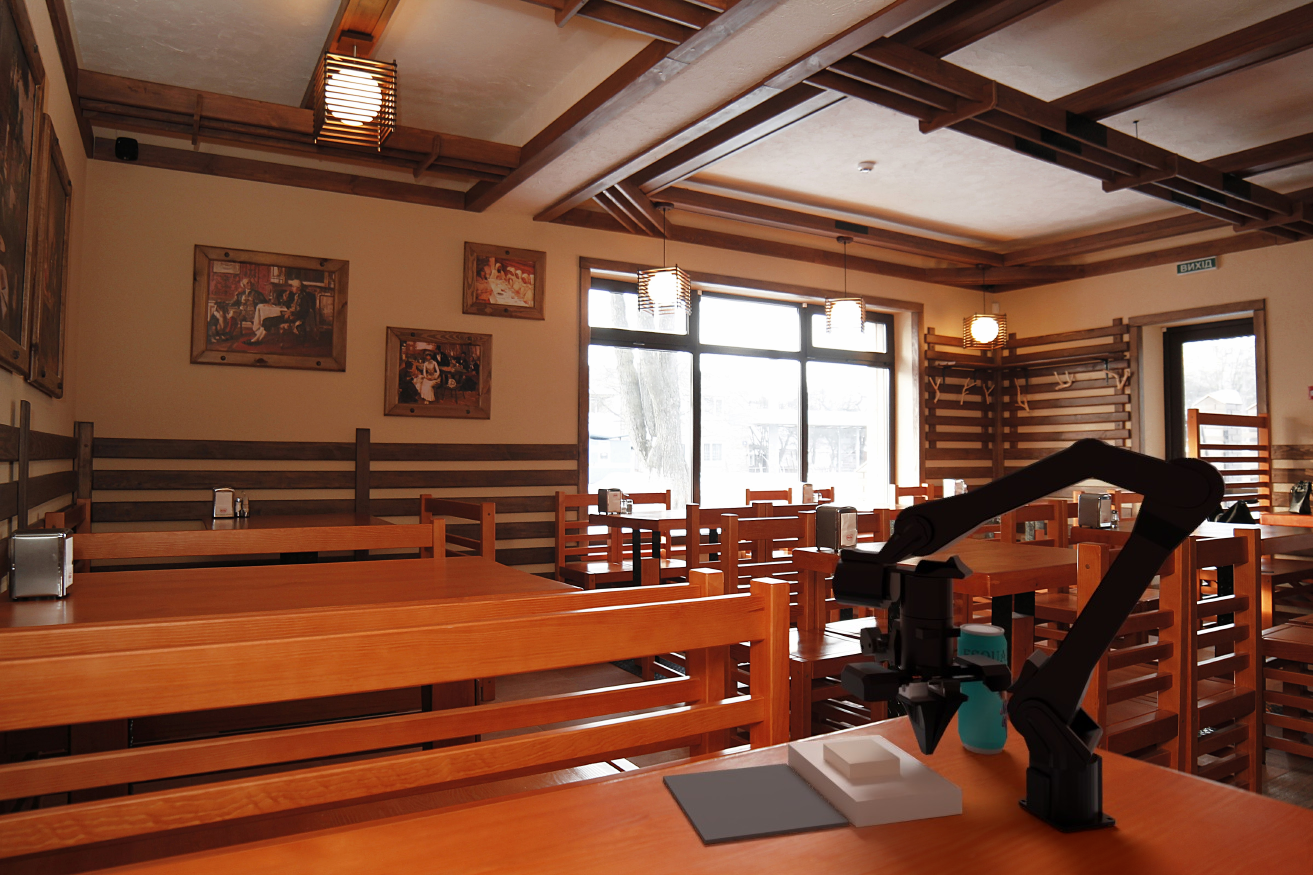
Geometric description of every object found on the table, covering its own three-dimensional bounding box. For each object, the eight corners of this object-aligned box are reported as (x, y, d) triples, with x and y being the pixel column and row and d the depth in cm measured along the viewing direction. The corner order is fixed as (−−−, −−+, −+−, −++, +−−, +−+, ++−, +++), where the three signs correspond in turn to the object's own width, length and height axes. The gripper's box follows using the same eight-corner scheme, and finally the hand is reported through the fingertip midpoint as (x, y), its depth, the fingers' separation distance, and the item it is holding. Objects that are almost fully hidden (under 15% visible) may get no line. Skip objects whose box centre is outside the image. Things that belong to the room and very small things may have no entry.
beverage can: (1003, 760, 94) (1002, 635, 94) (953, 750, 97) (952, 629, 97) (1010, 745, 99) (1010, 626, 99) (963, 736, 102) (962, 620, 102)
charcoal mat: (785, 766, 91) (786, 763, 91) (849, 825, 77) (849, 821, 77) (662, 779, 88) (662, 776, 88) (705, 844, 73) (705, 839, 73)
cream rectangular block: (870, 752, 89) (870, 738, 89) (900, 773, 83) (900, 758, 84) (823, 757, 88) (823, 743, 88) (849, 779, 82) (849, 763, 82)
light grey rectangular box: (878, 755, 95) (878, 734, 95) (962, 813, 80) (962, 788, 80) (788, 764, 92) (788, 743, 92) (856, 827, 77) (856, 801, 77)
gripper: (953, 598, 98) (953, 722, 98) (818, 604, 94) (818, 735, 93) (1015, 616, 88) (1016, 756, 87) (866, 624, 83) (866, 772, 82)
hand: (926, 753), depth 88 cm, fingers closed
